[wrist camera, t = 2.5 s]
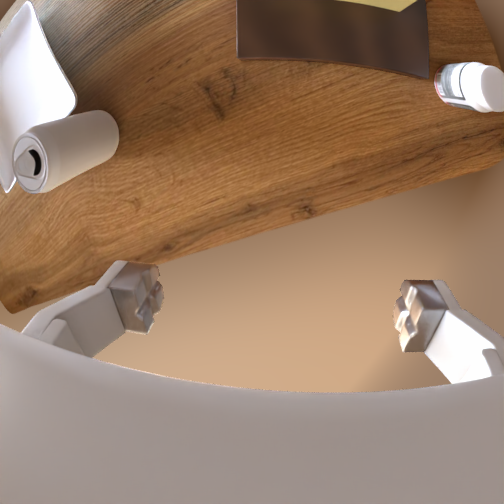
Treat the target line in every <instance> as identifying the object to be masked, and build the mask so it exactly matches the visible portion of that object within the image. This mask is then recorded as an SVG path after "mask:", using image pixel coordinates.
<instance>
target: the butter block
mask: <svg viewBox="0 0 504 504" xmlns="http://www.w3.org/2000/svg"><path fill="white" fill-rule="evenodd" d="M340 1H347V2H354V3H360V4H366V5H371V6H376V7H381V8H385V9H390V10H394V11H398V12H400V11H402V10H403V9H405V8H406V7H408V6H409V5H411V4H412V3H414V2H415V1H417V0H340Z"/></svg>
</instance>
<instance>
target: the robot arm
mask: <svg viewBox="0 0 504 504" xmlns="http://www.w3.org/2000/svg"><path fill="white" fill-rule="evenodd" d="M159 276H160V273H159V269H158V266H156V265H155V264H149V263H140V262H129V261H115V262H114V263H113V265H112V266H111V267H110V268H109V269H108V270H107V271H106V273H105V274H104V275H103V276H102V277H101V278H100V280H99V281H98V282H97V283H96V284H95V286H89V287H87V288H85V289H83V290H81V291H79V292H77V293H74V294H72V295H70V296H68V297H66V298H64V299H62V300H61V301H58V302H56V303H54V304H52V305H50V306H48V307H46V308H44V309H42V310H40V311H38V312H37V313H36V315H35V316H34V317H33V318H32V319H31V321H30V322H29V323H28V324H27V326H26V327H25V328H24V329H23V330H22V332H21V333H20V332H17V331H15V330H13V329H10V328H8V327H6V326H4V325H2V324H0V504H504V337H502V336H501V335H499V334H498V333H497V332H495V331H494V330H492V329H491V328H490V327H489V326H487V325H486V324H485V323H483V322H482V321H481V320H479V319H478V318H476V317H475V316H474V315H472V314H471V313H469V312H468V311H467V310H462V309H461V307H460V305H459V304H458V302H457V300H456V299H455V297H454V295H453V294H452V292H451V290H450V289H449V287H448V286H447V284H446V283H445V281H443V280H404V282H403V283H402V286H401V288H400V291H401V294H402V296H401V297H400V298H399V299H397V300H396V303H395V306H394V311H393V321H394V325H395V328H396V329H397V330H399V331H400V332H401V333H400V335H399V341H400V344H401V347H402V350H403V352H424V353H425V354H426V355H427V356H428V357H429V358H430V359H431V360H432V362H433V363H434V364H435V365H436V366H437V367H438V368H439V369H440V370H441V371H442V373H443V374H444V375H445V376H446V377H447V378H448V380H449V381H450V382H451V383H452V384H448V385H440V386H433V387H425V388H416V389H406V390H394V391H378V392H354V393H315V392H314V393H313V392H288V391H272V390H260V389H249V388H239V387H231V386H223V385H215V384H208V383H202V382H195V381H189V380H183V379H178V378H172V377H167V376H162V375H157V374H153V373H148V372H144V371H139V370H135V369H131V368H127V367H123V366H119V365H115V364H111V363H108V362H104V361H101V360H97V359H93V358H92V357H94V356H95V355H96V354H97V353H99V352H100V351H102V350H103V349H104V348H105V347H107V346H108V345H109V344H111V343H112V342H113V341H115V340H116V339H118V338H119V337H120V336H122V335H123V334H124V333H125V331H128V332H133V333H140V334H146V335H147V334H148V333H149V331H150V329H151V327H152V325H153V323H154V318H153V316H154V315H155V314H157V313H159V311H160V310H161V308H162V304H163V299H164V292H163V287H162V285H161V284H160V283H159V282H158V281H157V279H158V277H159Z"/></svg>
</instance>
